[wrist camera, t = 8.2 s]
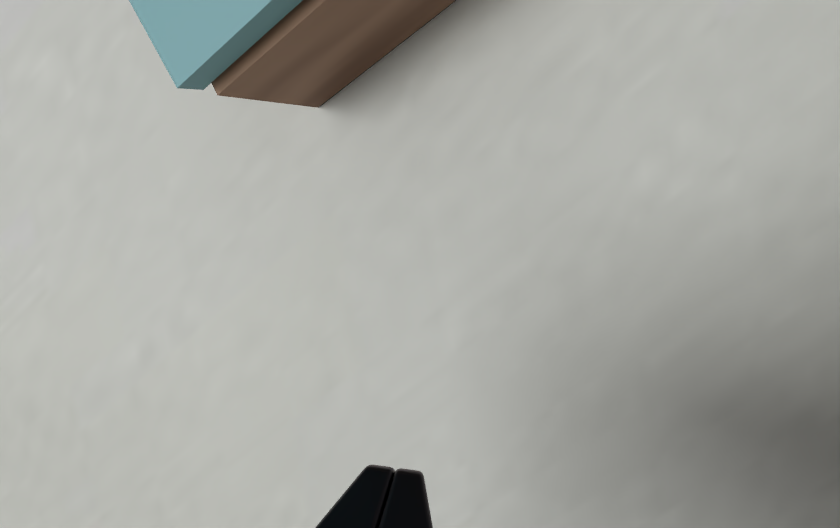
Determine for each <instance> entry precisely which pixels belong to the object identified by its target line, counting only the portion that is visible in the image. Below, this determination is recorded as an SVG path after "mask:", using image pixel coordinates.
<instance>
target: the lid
mask: <svg viewBox="0 0 840 528" xmlns="http://www.w3.org/2000/svg"><path fill="white" fill-rule="evenodd" d="M129 1H130V3H131V5H132V7H133V8H134V10H135V12H136V14H137V16H138V17H139V19H140V21H141V23H142V25H143V27H144V28H145V30H146V32H147V34H148V36H149V38H150V39H151V41H152V43H153V45H154V47H155V49H156V50H157V52H158V54H159V56H160V58H161V59H162V61H163V63H164V65H165V67H166V69H167V70H168V72H169V74H170V76H171V78H172V80H173V81H174V83H175V85H176V87H177V88H184V89H200V90H204V89H205V88H206V87H207V86H208V85H209V84H210V83H211V82H212V81H214V80H215V79H216V78H217V77H218V76H219V75H220V74H221V73H222V72H224V71H225V70H226V69H227V68H228V67H229V66H230V65H231V64H233V63H234V62H235V61H236V60H237V59H238V58H239V57H240V56H241V55H243V54H244V53H245V52H246V51H247V50H248V49H249V48H250V47H251V46H253V45H254V44H255V43H256V42H257V41H258V40H259V39H260V38H261V37H263V36H264V35H265V34H266V33H267V32H268V31H269V30H270V29H271V28H273V27H274V26H275V25H276V24H277V23H278V22H279V21H280V20H281V19H283V18H284V17H285V16H286V15H287V14H288V13H289V12H290V11H291V10H293V9H294V8H295V7H296V6H297V5H298V4H299V3H300V2H301V1H303V0H129Z"/></svg>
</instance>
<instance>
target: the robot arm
mask: <svg viewBox="0 0 840 528" xmlns="http://www.w3.org/2000/svg"><path fill="white" fill-rule="evenodd" d="M316 528H433V527H432V521H431V515H430V510H429V504H428V498H427V492H426V487H425V481H424V476H423V474H422V472H420V471H416V470H408V469H397V470H396V471H395V470H394V469H393V468H391V467H386V466H379V465H369V466H367V467H366V468H365V469H364V470H363V471H362V472H361V473H360V475H359V476H358V477H357V478H356V479H355V481H354V482H353V483H352V484H351V485H350V487H349V488H348V489H347V490H346V491H345V493H344V494H343V495H342V496H341V497H340V499H339V500H338V501H337V502H336V504H335V505H334V506H333V507H332V508H331V510H330V511H329V512H328V513H327V514H326V516H325V517H324V518H323V519H322V520H321V522H320V523H319V524H318V525H317V526H316Z"/></svg>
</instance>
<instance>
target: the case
mask: <svg viewBox="0 0 840 528" xmlns="http://www.w3.org/2000/svg"><path fill="white" fill-rule="evenodd" d="M454 1H456V0H303V1H301V2H300V3H299V4H298V5H297V6H296V7H295V8H294V9H293V10H291V11H290V12H289V13H288V14H287V15H286V16H285V17H284V18H283V19H281V20H280V21H279V22H278V23H277V24H276V25H275V26H274V27H273V28H271V29H270V30H269V31H268V32H267V33H266V34H265V35H264V36H263V37H261V38H260V39H259V40H258V41H257V42H256V43H255V44H254V45H253V46H251V47H250V48H249V49H248V50H247V51H246V52H245V53H244V54H243V55H241V56H240V57H239V58H238V59H237V60H236V61H235V62H234V63H233V64H231V65H230V66H229V67H228V68H227V69H226V70H225V71H224V72H222V73H221V74H220V75H219V76H218V77H217V78H216V79H215V80H214V81H212V82H211V83H212V85H213V87H214V89H215V91H216V93H217V95H220V96H228V97H236V98H245V99H253V100H261V101H269V102H277V103H285V104H293V105H302V106H310V107H319V106H321V105H322V104H323V103H325V102H326V101H327V100H328V99H330V98H331V97H332V96H334V95H335V94H336V93H337V92H339V91H340V90H341V89H343V88H344V87H345V86H346V85H348V84H349V83H350V82H352V81H353V80H354V79H355V78H357V77H358V76H359V75H361V74H362V73H363V72H364V71H366V70H367V69H368V68H370V67H371V66H372V65H373V64H375V63H376V62H377V61H379V60H380V59H381V58H382V57H384V56H385V55H386V54H388V53H389V52H390V51H391V50H393V49H394V48H395V47H397V46H398V45H399V44H400V43H402V42H403V41H404V40H405V39H407V38H408V37H409V36H411V35H412V34H413V33H414V32H416V31H417V30H418V29H420V28H421V27H422V26H423V25H425V24H426V23H427V22H429V21H430V20H431V19H432V18H434V17H435V16H436V15H438V14H439V13H440V12H441V11H443V10H444V9H445V8H447V7H448V6H449V5H450V4H452V3H453V2H454Z"/></svg>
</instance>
